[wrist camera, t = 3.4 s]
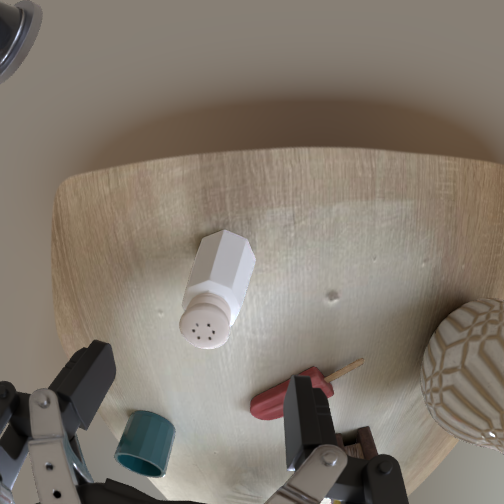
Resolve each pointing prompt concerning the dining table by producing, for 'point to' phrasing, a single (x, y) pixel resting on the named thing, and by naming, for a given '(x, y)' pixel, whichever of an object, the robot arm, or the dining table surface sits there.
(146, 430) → the cup
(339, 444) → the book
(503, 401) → the vase
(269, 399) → the popsicle
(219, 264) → the pepper shaker
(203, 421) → the dining table surface
